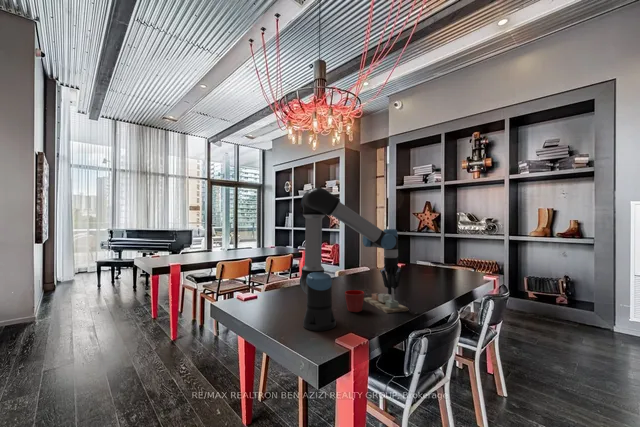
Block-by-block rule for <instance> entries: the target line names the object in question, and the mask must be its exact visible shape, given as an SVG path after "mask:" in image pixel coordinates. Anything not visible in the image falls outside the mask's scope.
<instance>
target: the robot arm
mask: <svg viewBox="0 0 640 427" xmlns="http://www.w3.org/2000/svg"><path fill="white" fill-rule="evenodd" d="M300 202H301V207H302V216H303V218H305V225H304V226H305V228H304V229H305V230H304V232H305V233H304V238H305V239H304V265H303V266H302V267H301V275H300V278H299V287H300V288H301V290H302V291H303V292H304V293H305V294H306V310H305V313H304V316H303V322H302V325H303V327H304V328H305V330H309V331H317V332H322V331H324V332H325V331H330V330H331V329H334V328H335V327H336V325H337V320H336V317H335V316H336V315H335V314H334V311H333V303H332V302H333V299H332V296H333V293H332V292H333V290H332V288H333V287H332V286H333V281H332V276H331V275H330V274H329V273H327V272H325V268H324V267H323V265H322V245H323V244H322V243H323V240H322V239H323V237H322V236H323V219H324V218H325V216H326V215H327V216H328V217H331V216H332V217H333V218H335V219H336V220H338V221H340V222H341V223H342V224H345V225H346V226H347V227H349V228H351V229H352V230H353V231H355V232H357V233H358V234H360V235H361V236H362V243H363V245H364V247H366V248H379V249H383V251H384V252H383V256H384V259H383V264H384V267H383V269H380V270H379V272H380V274H381V277H382V281H383V286H384V287H385V288H387V294H388V295H389V300H391V301H394V300H395V295H396V289H397V288H398V287H399V286H400V281H401V275H402V273H403V269H401V268H400V267H399V240H398V239H399V236H398V235H399V233H398V230H397V229H395V228H385V229H381V228H379V227H378V226H377V225H375V224H373V223H372V222H371V221H369V220H368V219H367V218H364V217H363V216H362V215H360V214H359V213H357V212H356V211H354V210H353V209H351V208H350V207H348V206H347V205H345V204H344V203H342V202H341V199H340V198H339V197H337V196H336V195H334V194H333V193H331V191H329V190H327V189H326V188H323V187H315V188H311V189H310V190H308V191H306V192H305V193H304V194H303V196H302V197H301V201H300Z"/></svg>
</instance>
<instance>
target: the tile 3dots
mask: <svg viewBox="0 0 640 427" xmlns="http://www.w3.org/2000/svg"><path fill="white" fill-rule="evenodd" d="M378 294H381V293H380V292H377V293H371V297H372V299H373V300H375V301H378Z"/></svg>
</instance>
